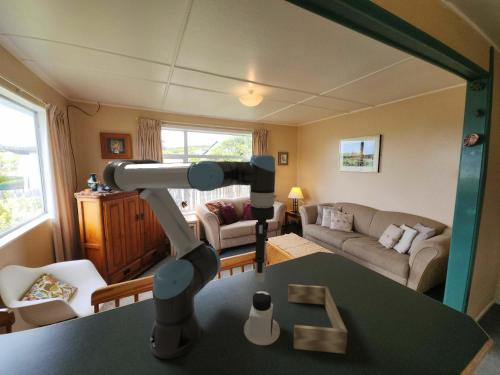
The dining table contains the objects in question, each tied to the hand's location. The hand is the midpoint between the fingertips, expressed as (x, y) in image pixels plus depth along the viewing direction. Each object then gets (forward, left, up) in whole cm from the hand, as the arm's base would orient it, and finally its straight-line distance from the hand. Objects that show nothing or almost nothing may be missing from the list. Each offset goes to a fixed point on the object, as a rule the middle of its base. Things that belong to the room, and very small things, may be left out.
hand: (261, 269), depth 67 cm
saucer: (0, 0, -21) cm, 21 cm away
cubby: (+17, +5, -21) cm, 28 cm away
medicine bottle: (0, 0, -21) cm, 21 cm away
